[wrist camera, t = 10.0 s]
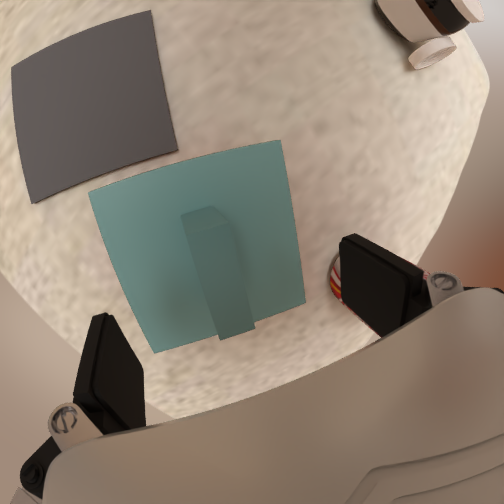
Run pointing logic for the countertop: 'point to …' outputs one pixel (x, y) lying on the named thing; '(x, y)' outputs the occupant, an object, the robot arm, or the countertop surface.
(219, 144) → the countertop surface
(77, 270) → the countertop surface
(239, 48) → the countertop surface
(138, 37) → the mat
